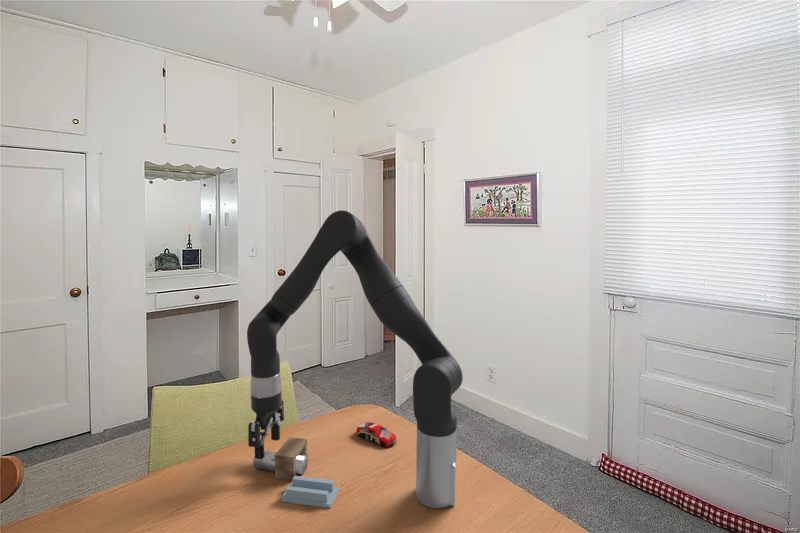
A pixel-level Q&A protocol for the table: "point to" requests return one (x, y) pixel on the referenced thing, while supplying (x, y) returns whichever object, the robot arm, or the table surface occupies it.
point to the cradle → (311, 492)
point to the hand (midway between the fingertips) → (267, 448)
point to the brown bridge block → (289, 458)
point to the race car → (376, 434)
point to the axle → (269, 462)
